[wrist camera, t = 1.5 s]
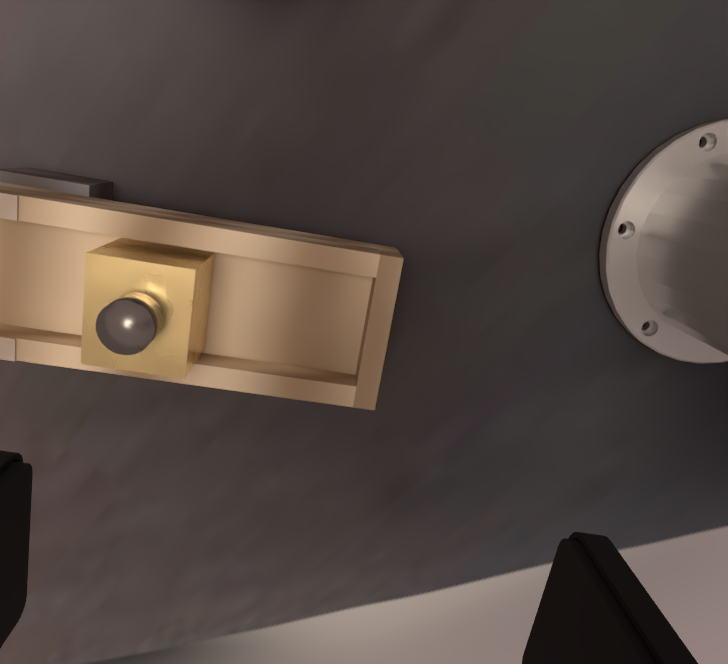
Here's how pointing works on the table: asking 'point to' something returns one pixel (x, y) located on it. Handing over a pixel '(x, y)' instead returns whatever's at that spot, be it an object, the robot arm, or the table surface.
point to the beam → (228, 292)
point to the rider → (146, 307)
